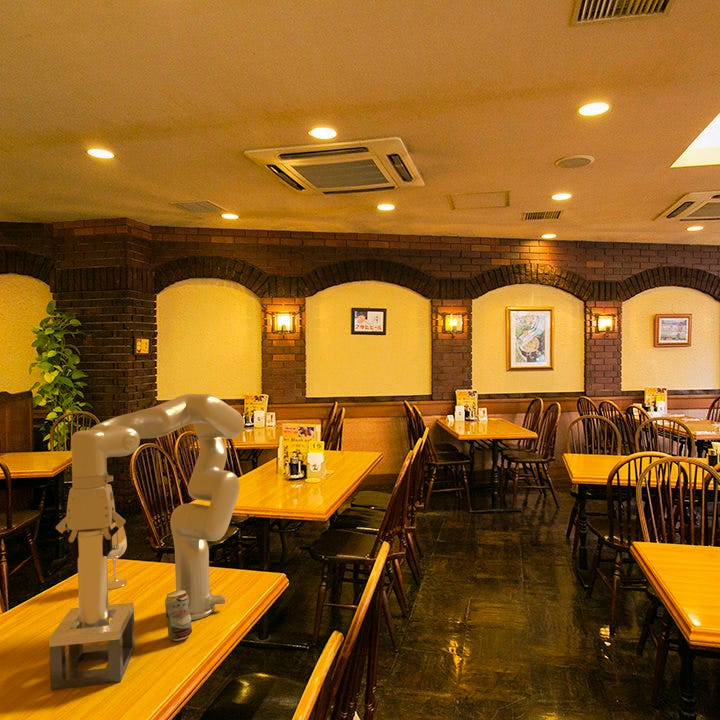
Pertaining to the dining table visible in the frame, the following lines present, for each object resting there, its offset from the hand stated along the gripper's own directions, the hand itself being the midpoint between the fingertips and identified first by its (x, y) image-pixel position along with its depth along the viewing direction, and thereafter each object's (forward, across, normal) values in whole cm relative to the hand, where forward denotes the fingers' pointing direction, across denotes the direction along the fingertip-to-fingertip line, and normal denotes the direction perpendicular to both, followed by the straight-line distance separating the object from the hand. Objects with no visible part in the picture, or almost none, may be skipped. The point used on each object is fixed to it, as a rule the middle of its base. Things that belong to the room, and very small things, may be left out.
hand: (92, 554), depth 135 cm
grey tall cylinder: (+19, 0, 0) cm, 19 cm away
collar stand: (+28, 0, 0) cm, 28 cm away
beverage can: (+28, -18, -11) cm, 35 cm away
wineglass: (+28, +8, -52) cm, 60 cm away
